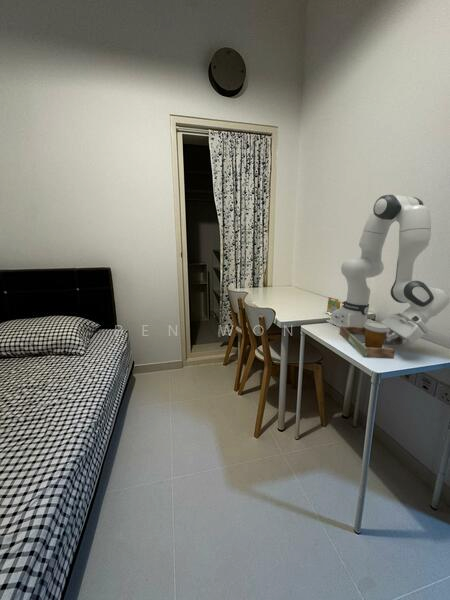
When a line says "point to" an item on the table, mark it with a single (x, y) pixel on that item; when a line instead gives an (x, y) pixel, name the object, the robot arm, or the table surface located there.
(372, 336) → the disposable coffee cup
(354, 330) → the walnut corridor
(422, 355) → the table surface
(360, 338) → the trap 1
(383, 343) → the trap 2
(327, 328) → the table surface
